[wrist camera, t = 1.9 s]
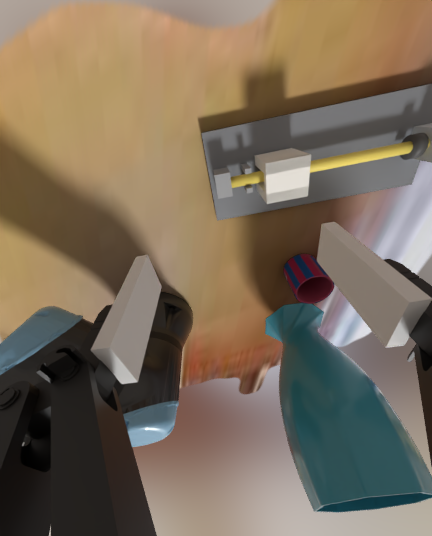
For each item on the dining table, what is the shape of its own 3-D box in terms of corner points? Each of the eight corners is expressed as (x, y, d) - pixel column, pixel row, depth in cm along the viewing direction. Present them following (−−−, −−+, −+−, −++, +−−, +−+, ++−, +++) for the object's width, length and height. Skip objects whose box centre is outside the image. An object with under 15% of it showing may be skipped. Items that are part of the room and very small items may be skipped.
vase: (336, 294, 47) (480, 485, 22) (321, 340, 57) (410, 507, 32) (259, 302, 47) (319, 499, 23) (258, 347, 57) (299, 516, 33)
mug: (277, 266, 41) (288, 288, 36) (325, 237, 38) (346, 257, 33) (292, 285, 45) (304, 309, 39) (337, 260, 41) (358, 282, 36)
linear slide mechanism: (216, 216, 35) (219, 232, 30) (201, 132, 28) (201, 135, 23) (404, 181, 33) (438, 192, 28) (437, 81, 26) (491, 73, 21)
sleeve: (256, 189, 31) (266, 204, 26) (254, 155, 28) (265, 163, 23) (290, 183, 30) (307, 196, 25) (291, 147, 28) (311, 154, 23)
